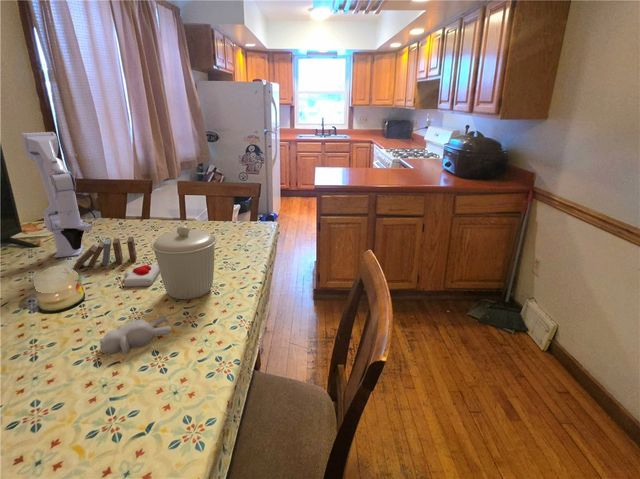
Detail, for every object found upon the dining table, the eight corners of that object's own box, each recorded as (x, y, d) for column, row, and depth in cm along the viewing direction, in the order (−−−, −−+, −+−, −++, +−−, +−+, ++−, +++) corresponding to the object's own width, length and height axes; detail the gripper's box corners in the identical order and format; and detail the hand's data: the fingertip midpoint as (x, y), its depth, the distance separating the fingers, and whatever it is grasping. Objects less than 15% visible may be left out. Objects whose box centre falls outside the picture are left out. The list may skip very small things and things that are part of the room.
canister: (231, 283, 121) (227, 220, 114) (197, 311, 105) (189, 240, 98) (184, 274, 127) (177, 214, 119) (144, 300, 111) (133, 231, 103)
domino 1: (74, 266, 129) (90, 249, 129) (77, 260, 133) (93, 244, 133) (78, 268, 130) (95, 252, 130) (81, 263, 134) (97, 247, 134)
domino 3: (116, 264, 134) (112, 243, 131) (118, 259, 138) (114, 238, 135) (121, 263, 134) (117, 242, 131) (123, 258, 139) (119, 238, 136)
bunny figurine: (97, 327, 90) (162, 306, 97) (104, 345, 92) (167, 322, 99) (98, 349, 83) (169, 324, 89) (105, 367, 85) (174, 341, 91)
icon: (129, 260, 127) (160, 259, 129) (131, 271, 129) (162, 270, 130) (115, 276, 116) (149, 275, 117) (117, 288, 118) (151, 287, 119)
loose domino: (102, 265, 132) (104, 243, 130) (104, 259, 136) (106, 238, 134) (107, 265, 133) (109, 244, 131) (109, 260, 137) (111, 239, 135)
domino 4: (130, 262, 135) (127, 241, 132) (131, 257, 140) (128, 237, 137) (135, 262, 136) (132, 241, 133) (136, 257, 140) (133, 236, 137)
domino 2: (87, 265, 130) (98, 245, 130) (90, 259, 135) (101, 240, 134) (92, 267, 131) (103, 247, 130) (95, 261, 136) (105, 242, 135)
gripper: (96, 209, 127) (103, 247, 132) (61, 205, 130) (70, 242, 135) (78, 215, 120) (86, 254, 125) (42, 210, 124) (52, 249, 129)
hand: (76, 248), depth 130 cm, fingers closed
